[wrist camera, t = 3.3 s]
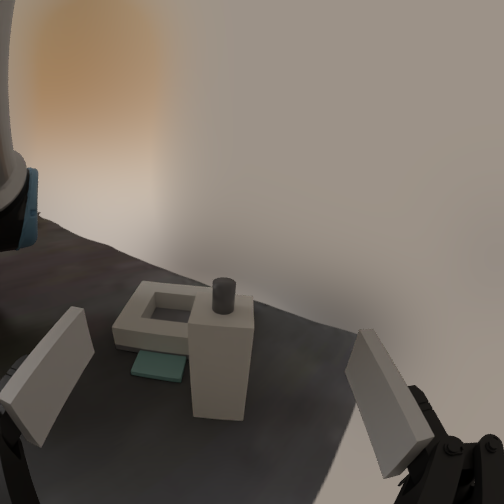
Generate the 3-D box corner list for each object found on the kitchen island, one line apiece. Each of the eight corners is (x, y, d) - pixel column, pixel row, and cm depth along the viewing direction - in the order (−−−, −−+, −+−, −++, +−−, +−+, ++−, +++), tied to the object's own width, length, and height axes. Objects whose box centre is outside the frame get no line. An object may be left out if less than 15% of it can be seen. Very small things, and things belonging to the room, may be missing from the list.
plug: (243, 420, 25) (257, 301, 20) (193, 416, 25) (187, 295, 20) (243, 386, 30) (255, 271, 25) (198, 383, 30) (197, 267, 25)
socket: (211, 385, 30) (211, 364, 28) (105, 369, 29) (98, 347, 28) (221, 307, 46) (222, 288, 44) (144, 299, 45) (142, 280, 44)
